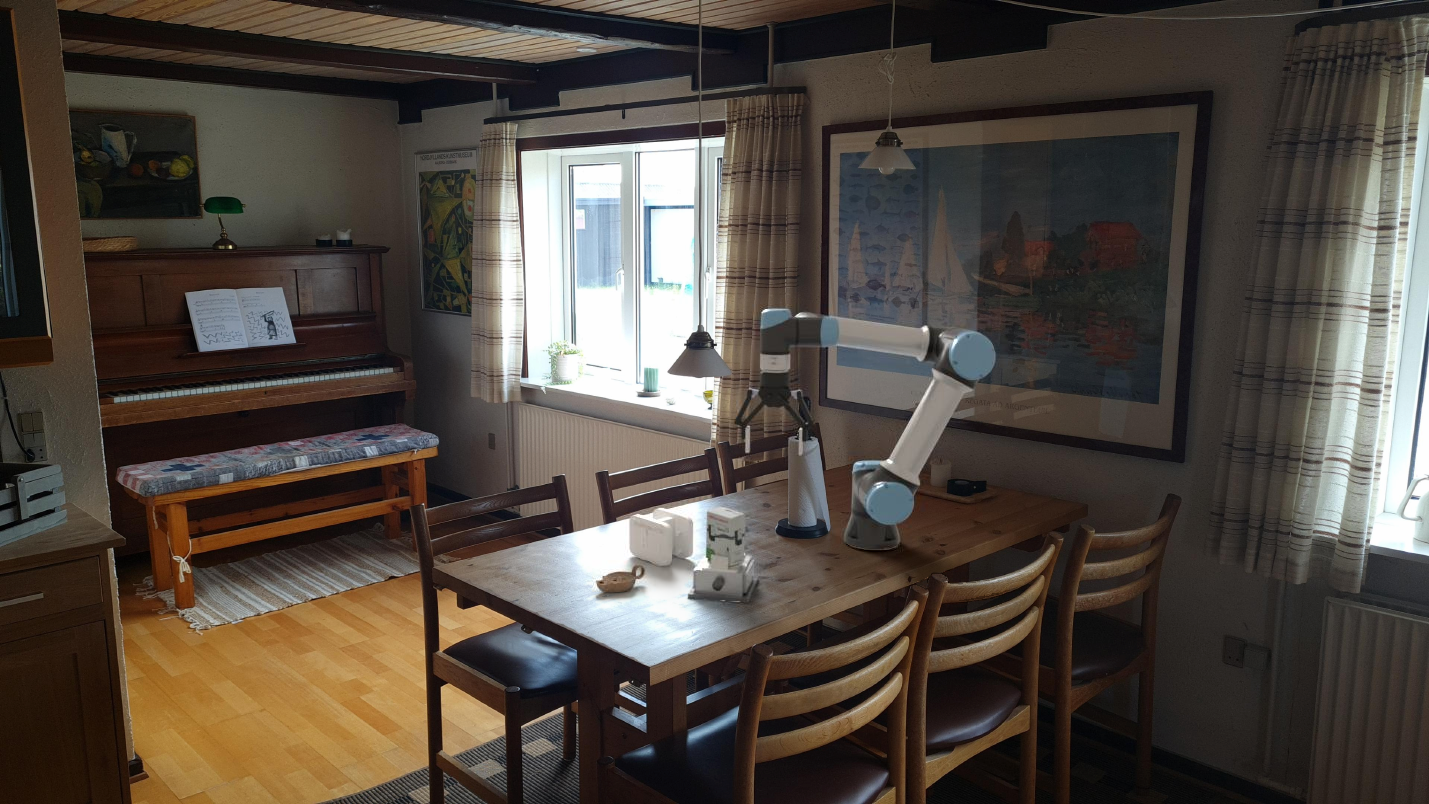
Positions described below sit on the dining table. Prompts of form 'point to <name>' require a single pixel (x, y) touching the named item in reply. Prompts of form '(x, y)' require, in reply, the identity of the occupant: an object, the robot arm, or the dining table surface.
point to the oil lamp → (620, 580)
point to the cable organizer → (661, 536)
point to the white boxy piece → (723, 579)
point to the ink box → (726, 534)
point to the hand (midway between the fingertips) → (774, 453)
